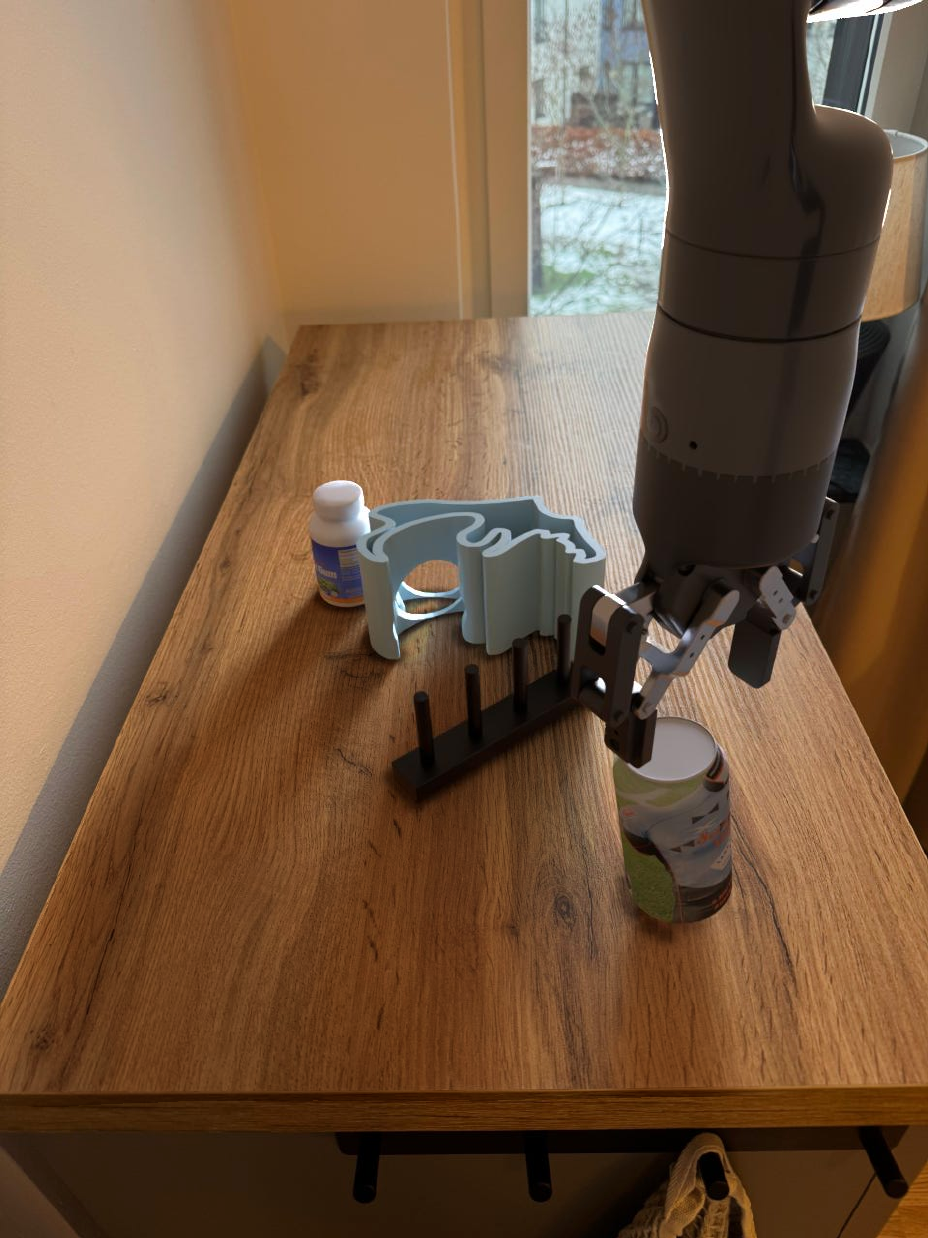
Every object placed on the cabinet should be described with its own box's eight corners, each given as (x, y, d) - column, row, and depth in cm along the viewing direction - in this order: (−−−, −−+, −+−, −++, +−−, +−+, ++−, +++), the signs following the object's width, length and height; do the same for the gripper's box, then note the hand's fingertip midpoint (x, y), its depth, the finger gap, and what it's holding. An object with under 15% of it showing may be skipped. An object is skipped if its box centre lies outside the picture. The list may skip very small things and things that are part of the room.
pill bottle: (309, 584, 80) (291, 488, 74) (365, 564, 82) (352, 468, 76) (335, 617, 76) (318, 518, 70) (393, 595, 78) (381, 497, 72)
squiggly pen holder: (583, 583, 78) (588, 489, 72) (602, 660, 70) (608, 561, 64) (372, 596, 78) (359, 503, 72) (368, 675, 70) (352, 577, 64)
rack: (596, 696, 67) (601, 616, 63) (417, 803, 60) (407, 723, 56) (569, 674, 69) (571, 596, 65) (392, 776, 62) (381, 697, 58)
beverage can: (722, 948, 51) (754, 810, 44) (593, 914, 53) (602, 777, 46) (734, 859, 56) (765, 720, 48) (615, 830, 58) (627, 693, 50)
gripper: (683, 527, 30) (643, 836, 40) (934, 395, 36) (844, 692, 46) (534, 442, 35) (532, 738, 45) (779, 339, 41) (728, 619, 51)
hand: (690, 714), depth 46 cm, fingers open, 8 cm apart
